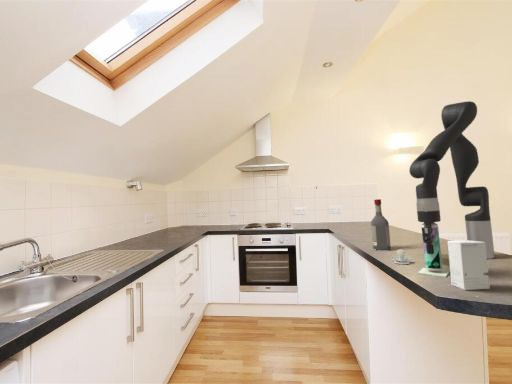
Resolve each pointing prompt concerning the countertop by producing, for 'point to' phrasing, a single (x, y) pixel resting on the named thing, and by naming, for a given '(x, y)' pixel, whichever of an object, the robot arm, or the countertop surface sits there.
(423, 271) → the mat
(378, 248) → the liquor
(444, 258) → the wooden box holder
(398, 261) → the pacifier
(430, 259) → the spray can
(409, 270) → the countertop surface
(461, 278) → the skincare box
